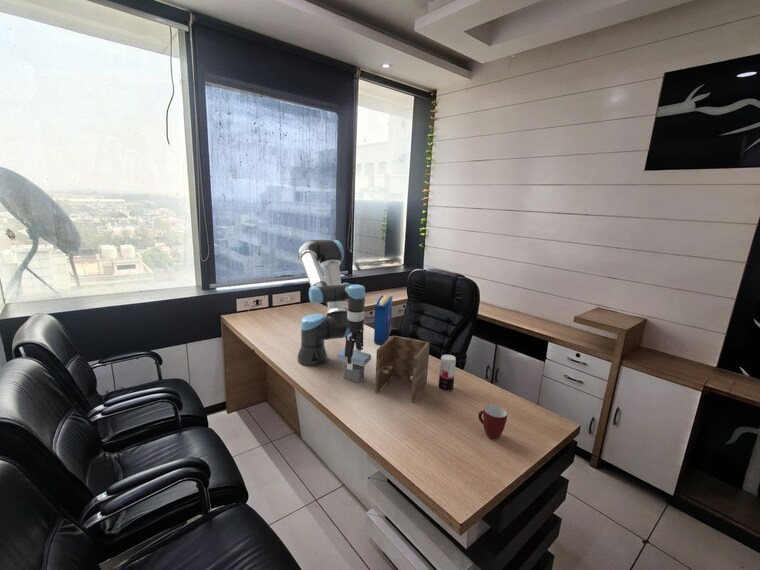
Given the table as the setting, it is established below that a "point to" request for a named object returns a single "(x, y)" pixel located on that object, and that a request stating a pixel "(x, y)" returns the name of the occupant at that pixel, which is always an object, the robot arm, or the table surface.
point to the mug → (493, 420)
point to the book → (382, 319)
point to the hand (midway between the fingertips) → (353, 365)
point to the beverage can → (447, 372)
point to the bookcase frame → (403, 363)
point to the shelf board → (355, 357)
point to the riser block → (354, 373)
